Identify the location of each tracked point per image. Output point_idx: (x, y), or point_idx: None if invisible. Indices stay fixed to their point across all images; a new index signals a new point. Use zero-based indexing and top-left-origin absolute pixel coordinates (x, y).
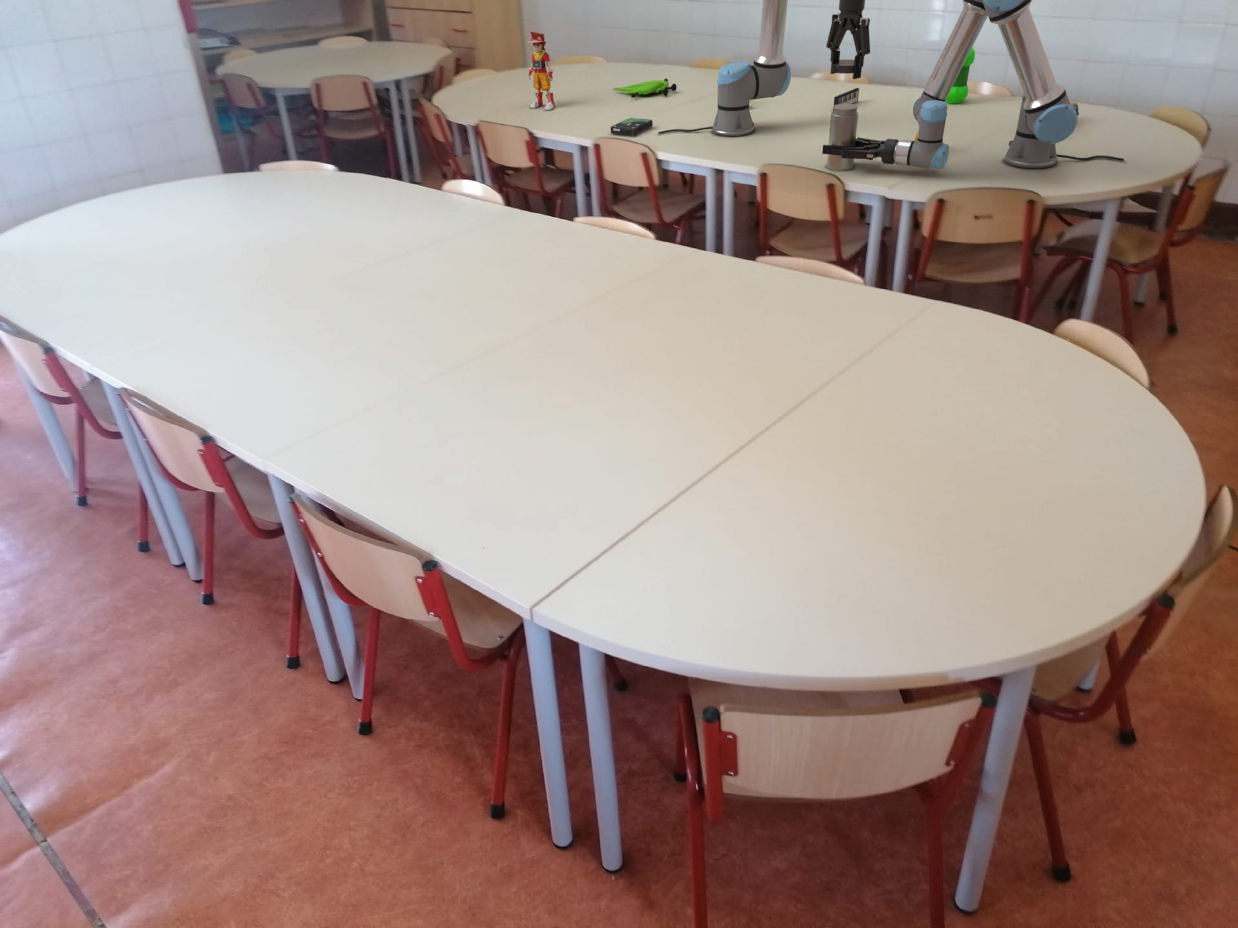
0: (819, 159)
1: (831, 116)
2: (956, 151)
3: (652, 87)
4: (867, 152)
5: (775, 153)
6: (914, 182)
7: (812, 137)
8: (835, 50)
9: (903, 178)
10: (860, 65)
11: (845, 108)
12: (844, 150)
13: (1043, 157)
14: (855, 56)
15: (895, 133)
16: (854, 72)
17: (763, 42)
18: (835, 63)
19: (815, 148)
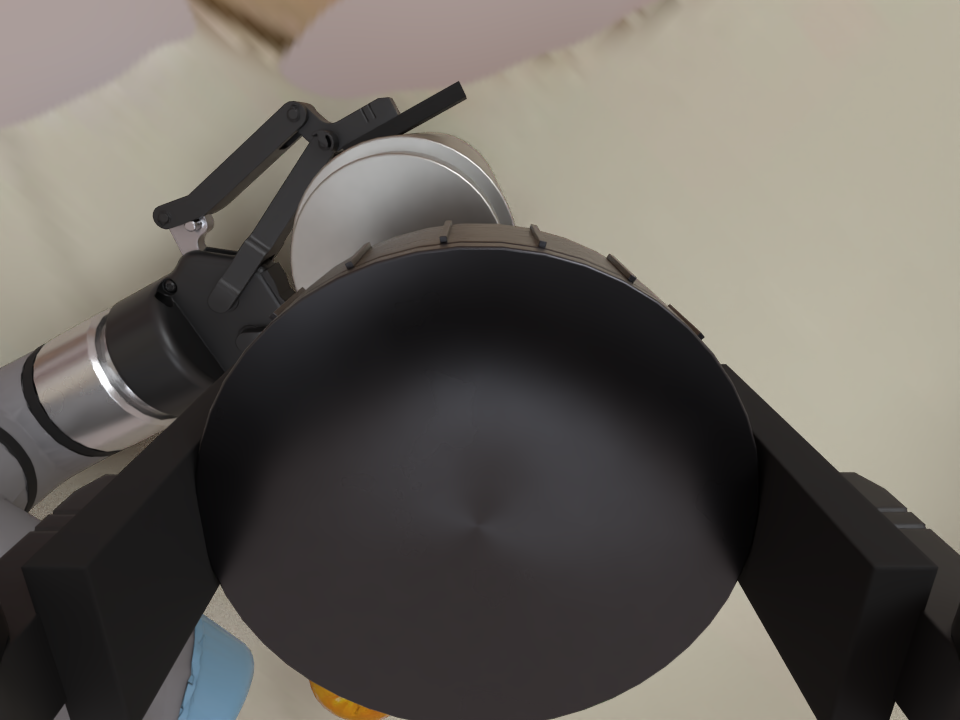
0: (599, 217)
1: (455, 148)
2: (289, 682)
3: None
4: (181, 199)
5: (859, 113)
6: (29, 290)
7: (874, 446)
8: (921, 671)
9: (105, 297)
10: (74, 510)
11: (341, 218)
12: (284, 110)
13: None
14: (58, 570)
15: (624, 696)
16: (207, 404)
17: None
18: (587, 340)
19: (744, 334)
